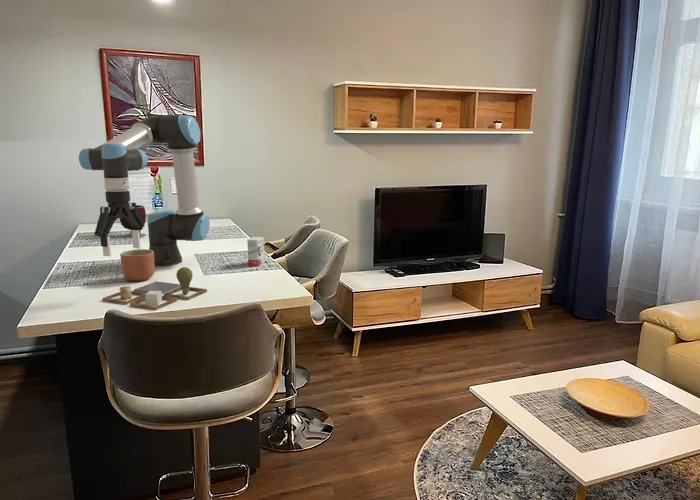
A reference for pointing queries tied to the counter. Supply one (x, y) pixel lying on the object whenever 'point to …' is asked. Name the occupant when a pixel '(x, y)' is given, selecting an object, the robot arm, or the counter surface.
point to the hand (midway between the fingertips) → (122, 252)
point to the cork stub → (125, 292)
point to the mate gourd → (128, 226)
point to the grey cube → (153, 297)
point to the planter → (137, 264)
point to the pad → (158, 287)
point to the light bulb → (184, 278)
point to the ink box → (256, 251)
